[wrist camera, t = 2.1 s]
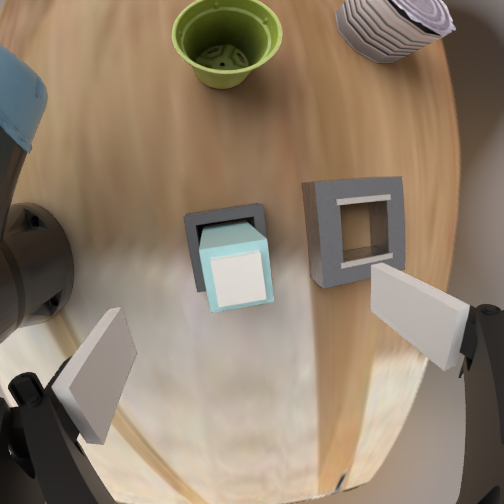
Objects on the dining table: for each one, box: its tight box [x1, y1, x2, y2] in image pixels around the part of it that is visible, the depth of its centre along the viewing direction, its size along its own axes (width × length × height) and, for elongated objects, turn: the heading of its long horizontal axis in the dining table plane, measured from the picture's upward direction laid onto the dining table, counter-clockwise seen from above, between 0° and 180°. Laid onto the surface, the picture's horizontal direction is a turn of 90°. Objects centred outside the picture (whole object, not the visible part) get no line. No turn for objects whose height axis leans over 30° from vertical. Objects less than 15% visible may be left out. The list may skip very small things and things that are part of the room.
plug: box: [199, 220, 274, 313], centre depth 24 cm, size 4×4×13 cm
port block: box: [302, 176, 405, 289], centre depth 30 cm, size 11×11×4 cm
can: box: [335, 0, 456, 63], centre depth 21 cm, size 11×11×12 cm
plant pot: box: [172, 0, 283, 89], centre depth 22 cm, size 9×9×9 cm
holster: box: [184, 203, 272, 292], centre depth 29 cm, size 8×8×3 cm
